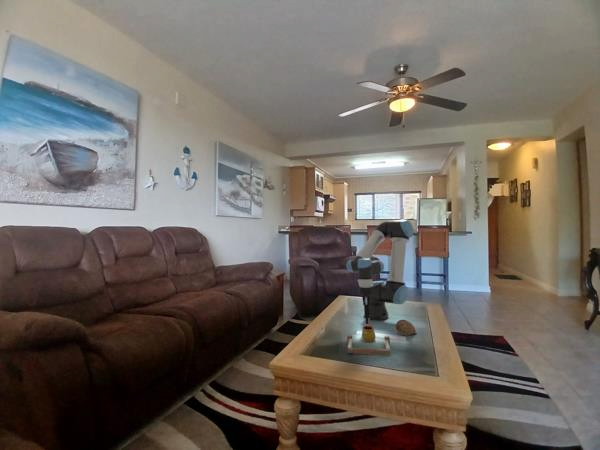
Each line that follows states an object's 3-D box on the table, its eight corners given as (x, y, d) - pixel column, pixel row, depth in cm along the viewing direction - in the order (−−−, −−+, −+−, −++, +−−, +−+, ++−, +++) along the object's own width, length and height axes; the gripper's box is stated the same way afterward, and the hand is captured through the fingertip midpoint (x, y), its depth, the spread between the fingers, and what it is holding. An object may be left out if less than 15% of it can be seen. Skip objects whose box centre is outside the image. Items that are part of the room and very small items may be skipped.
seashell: (420, 335, 157) (408, 319, 158) (405, 344, 158) (393, 327, 159) (415, 329, 167) (405, 313, 168) (401, 337, 168) (391, 322, 170)
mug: (376, 342, 151) (376, 329, 152) (362, 342, 152) (362, 329, 152) (373, 334, 163) (372, 322, 164) (360, 335, 164) (359, 322, 164)
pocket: (347, 341, 154) (347, 335, 154) (389, 343, 150) (389, 336, 150) (345, 353, 139) (345, 346, 139) (392, 355, 135) (392, 348, 135)
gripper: (358, 284, 175) (360, 325, 174) (358, 288, 162) (360, 332, 161) (372, 284, 173) (374, 325, 172) (372, 288, 160) (374, 333, 159)
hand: (367, 329), depth 167 cm, fingers closed
